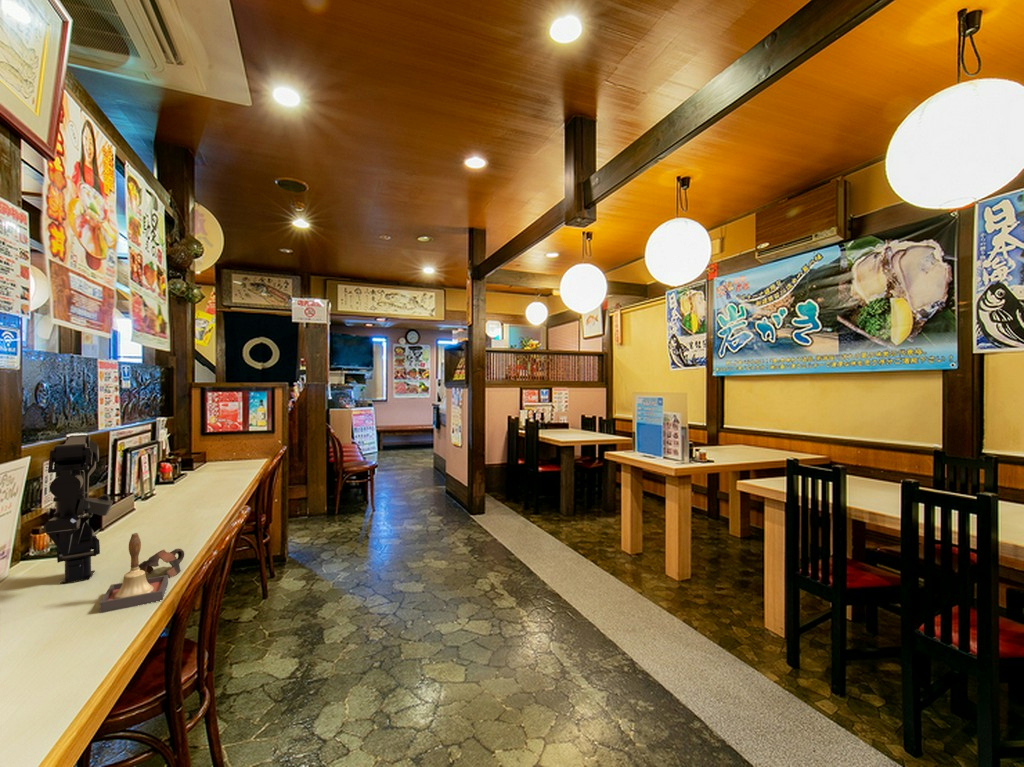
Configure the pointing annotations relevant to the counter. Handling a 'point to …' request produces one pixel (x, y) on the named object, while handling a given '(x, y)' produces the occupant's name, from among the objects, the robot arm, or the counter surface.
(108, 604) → the tray
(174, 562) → the brown curved piece
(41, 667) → the counter surface
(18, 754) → the counter surface
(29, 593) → the counter surface
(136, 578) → the hand bell
